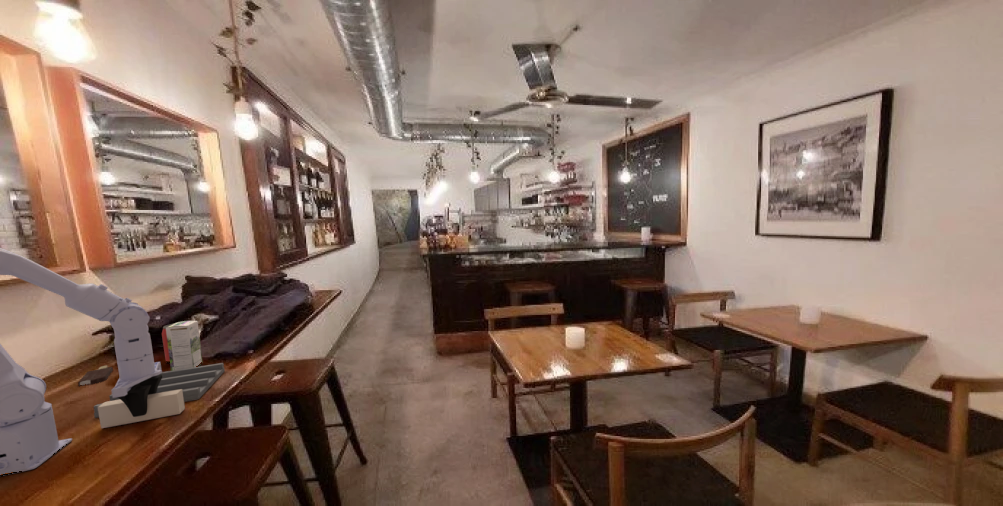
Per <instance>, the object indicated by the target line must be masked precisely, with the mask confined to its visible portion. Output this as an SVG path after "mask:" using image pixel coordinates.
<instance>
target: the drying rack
mask: <svg viewBox="0 0 1003 506" xmlns="http://www.w3.org/2000/svg"><path fill="white" fill-rule="evenodd" d="M225 371H226V368H225V367H224V362H219V363H213V364H208V365H199V366H198V367H193V368H186V369H180V370H173V371H171V370H168V371H167V370H166V371H162V373H161V375H162V379H161V381H160V383H159V385H158V388H157V392H156V393H161V392H167V391H173V390H179V389H182V392H183V399H184V403H185V402H191V401H197V400H199V399H201V397H203V395H204V394H206V392H207V391H208V390H209V389H210V388H211V387H212V386H213V384H215V382H216V381H217V380H218V379H219V378H220V377H221V376H222V375H223V374H224V373H225ZM108 397H109V401H113V400H119V398H118V397H115V398H113V396H112V393H111V394H110V395H109V396H108ZM101 404H102V403H99V404H98V403H97V404H96V405H94V406H93V411H94V412H93V416H94V418H95V419H96V418H99V413H98V407H99V406H100V405H101Z"/></svg>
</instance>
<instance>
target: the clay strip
mask: <svg viewBox="0 0 1003 506" xmlns="http://www.w3.org/2000/svg"><path fill="white" fill-rule="evenodd" d="M100 404H101V405H100V406H99V407H98V413H99V417H98V418H99V424H100V428H101V429H104V428H111V427H116V426H117V427H118V426H121V425H127V424H132V423H137V422H144V421H149V420H154V419H159V418H164V417H169V416H175V415H180V414H181V413H182V412H183V411H184V410H185V408H186V407H185V402H184V399H183V392H182V389H179V390H173V391H167V392H161V393H155V394H149V395H148V398H147V413H146V414H145V415H143V416H137V417H133V415H132V414H131V412H130V411H129V409H128V407H127V406H126V405H125V403H124V402H123V401H122V400H120V399H119V400H113V401H110V400H109V401H105V402H103V403H100Z"/></svg>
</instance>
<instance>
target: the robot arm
mask: <svg viewBox="0 0 1003 506" xmlns="http://www.w3.org/2000/svg"><path fill="white" fill-rule="evenodd" d="M0 276H11V277H12V276H13V277H14V278H15V277H16V278H18V279H20V280H21V281H24V282H27V283H29V284H32V285H34V286H37V287H39V288H41V289H44V290H47V291H49V292H51V293H54V294H56V295H58V296H60V297H61V296H62V297H63V298H64V304H65V307H67V308H70V309H73V310H75V311H77V312H79V313H82V314H83V315H86V316H88V317H90V318H92V319H95V320H97V321H100V322H109V324H110V326H111V327H112V328H113V332H114V339H113V343H114V350H115V355H116V363H117V368H118V369H117V370H118V375H119V378H118V379H117V381H116V383H115V386H114V387H113V388H111V394H112V396H113V398H115V397H118V398H119V399H120V400H122V401H123V402H124V403H125V405H126V406H127V407H128V409H129V411H130V412H131V414H132V415H133V417H137V416H143V415H145V414H146V413H147V398H148V395H149V394H155V393H156V392H157V388H158V385H159V383H160V381H161V379H162V375H161V373H162V372H163V370H162V365H161V361H156V362H155V359H154V353H153V352H154V351H153V346H152V339H151V333H150V332H149V326H148V324H149V322H150V318H151V317H150V315H149V314H148V312H147V311H146V309H145V308H144V307H143V306H141V305H140V304H138V303H137V302H132V301H133V299H131V298H129V297H126V298H124V297H121V296H119V295H118V294H116V293H113V292H112V291H109V290H108V289H109V287H108V286H106V285H104V284H102V283H100V284H99V285H97V284H95V283H93V282H91V283H90V282H89V283H83V284H80V283H76V282H75V281H73V280H71V279H68V278H67V277H64V276H63V275H61V274H58V273H57V272H55V271H53V270H51V269H49V268H47V267H45V266H43V265H41V264H39V263H37V262H36V261H33V260H32V259H30V258H27V257H26V256H23V255H21V254H18V253H16V252H15V251H14V252H13V251H10V250H8V249H5V248H2V247H0ZM46 391H47V384H46V382H45V380H43V379H42V378H40V377H39V376H35V375H33V374H31V373H29V372H28V371H27V370H26V369H25V368H24V367H23V366H21V364H20V365H19V363H17V362H16V361H15V360H14V358H13V357H12V356H11V355H10V354H9V352H8V351H7V350H6V348H4V346H3V345H2V343H0V475H1V474H5V473H11V472H17V473H20V472H19V471H22V472H26V471H31V470H34V469H36V468H38V467H39V466H41V465H42V464H43V463H45V462H46V461H47V460H49V458H51V457H52V456H53V454H54V453H55V454H56V453H58V452H59V451H60V450H62V449H63V448H64V447H66V446H67V445H68V444H69V443H71V442H72V441H73V438H70V437H69V438H65V439H59V437H58V436H59V435H58V431H57V426H56V420H55V415H54V409H53V406H52V405H53V404H52V403H50V402H47V401H45V393H46ZM66 444H67V445H66ZM63 446H64V447H63ZM62 447H63V448H62ZM59 449H60V450H59ZM58 450H59V451H58ZM57 451H58V452H57ZM55 454H54V455H55Z"/></svg>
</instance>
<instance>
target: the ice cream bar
mask: <svg viewBox="0 0 1003 506" xmlns="http://www.w3.org/2000/svg"><path fill="white" fill-rule="evenodd" d="M108 366H109V365H102V366H100V367H99V368H98V369H95V370H93V369H92V370H89V371H86V372H85V374H84V375H83V376H82V377H81V379H80V380H79V381H78V383H77V385H78V387H81V386H80V385H82V386H85V384H86V385H95V383H96V384H99V382H100V383H103V382H104V381H107V379H108V378H109V377H110V375H111V374H112V373H113V371H114V369H113V366H109V367H108ZM110 373H111V374H110Z"/></svg>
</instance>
